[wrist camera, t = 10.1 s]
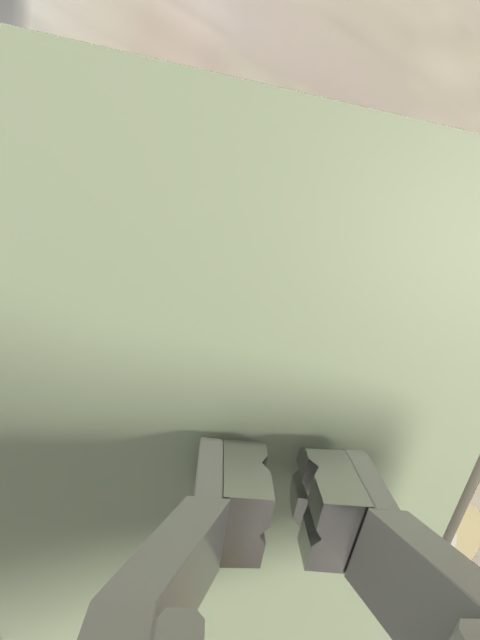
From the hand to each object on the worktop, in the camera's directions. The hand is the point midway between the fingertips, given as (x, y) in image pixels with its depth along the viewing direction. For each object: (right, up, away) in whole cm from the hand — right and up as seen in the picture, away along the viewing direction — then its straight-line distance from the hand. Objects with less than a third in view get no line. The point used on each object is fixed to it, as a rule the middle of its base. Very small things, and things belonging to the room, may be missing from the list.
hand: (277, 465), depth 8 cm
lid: (0, 0, +1) cm, 1 cm away
